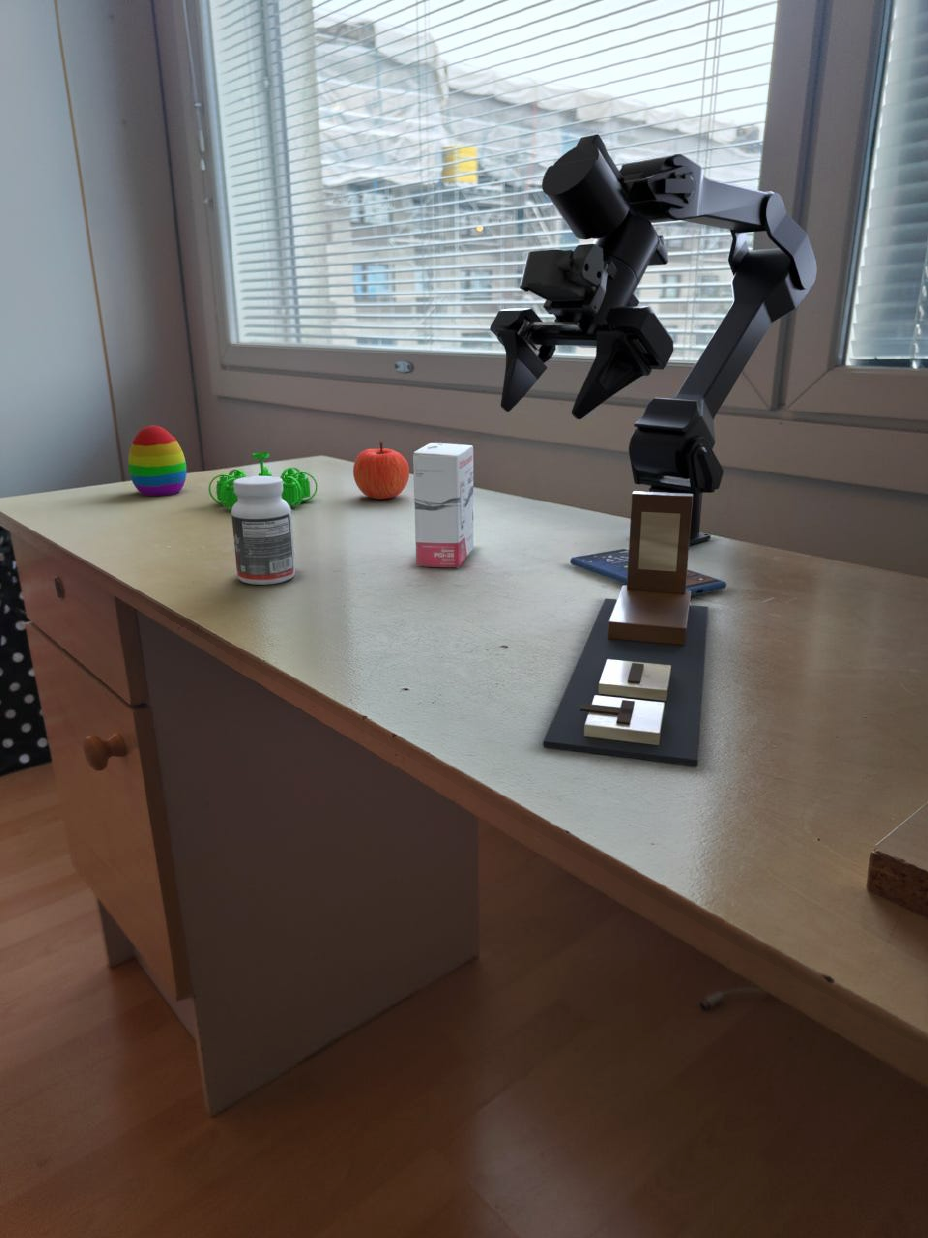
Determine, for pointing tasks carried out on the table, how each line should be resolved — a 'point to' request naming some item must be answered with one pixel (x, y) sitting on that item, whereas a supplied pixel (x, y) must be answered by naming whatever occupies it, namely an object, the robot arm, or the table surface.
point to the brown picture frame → (655, 571)
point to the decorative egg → (156, 462)
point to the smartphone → (617, 569)
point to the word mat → (634, 696)
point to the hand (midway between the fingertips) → (538, 412)
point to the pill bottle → (262, 531)
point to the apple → (380, 473)
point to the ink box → (443, 504)
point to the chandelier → (293, 484)
